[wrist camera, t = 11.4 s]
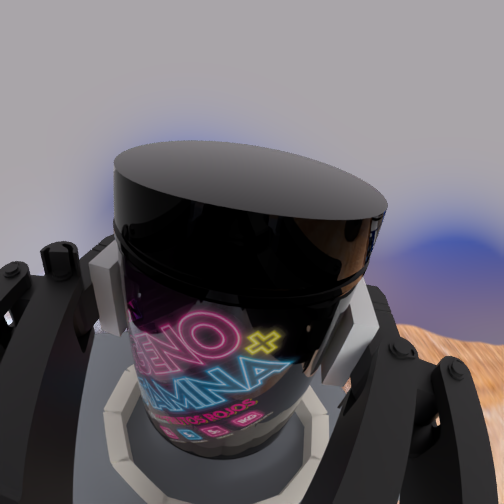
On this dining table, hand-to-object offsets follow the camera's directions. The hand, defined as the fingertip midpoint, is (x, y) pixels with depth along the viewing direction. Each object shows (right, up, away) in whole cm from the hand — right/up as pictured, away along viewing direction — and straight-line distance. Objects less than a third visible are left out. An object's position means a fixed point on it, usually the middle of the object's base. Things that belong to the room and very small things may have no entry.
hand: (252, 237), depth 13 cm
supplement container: (-2, -8, -1) cm, 8 cm away
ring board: (-2, -12, +1) cm, 12 cm away
